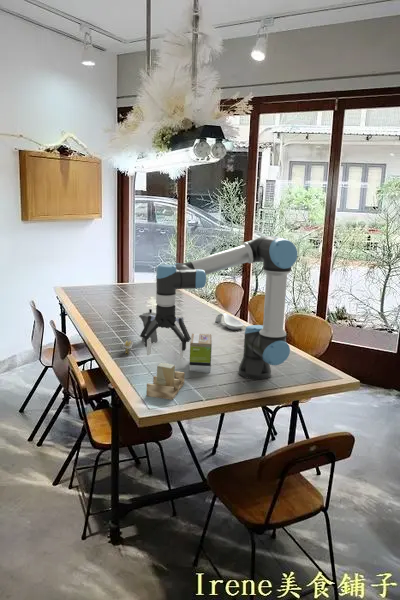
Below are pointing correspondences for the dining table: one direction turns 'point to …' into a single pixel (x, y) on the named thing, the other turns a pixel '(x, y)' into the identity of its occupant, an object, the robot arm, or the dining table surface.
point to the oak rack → (166, 387)
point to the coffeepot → (145, 318)
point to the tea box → (200, 353)
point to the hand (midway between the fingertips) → (165, 356)
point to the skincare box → (165, 374)
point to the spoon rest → (230, 321)
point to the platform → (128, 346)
